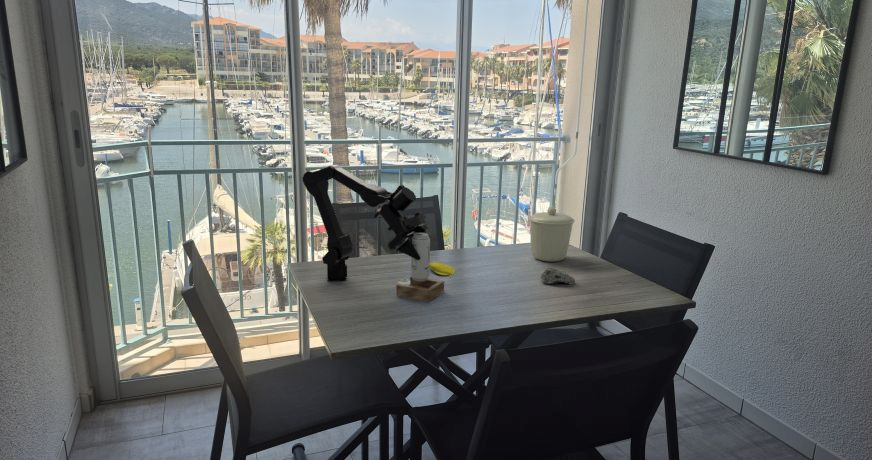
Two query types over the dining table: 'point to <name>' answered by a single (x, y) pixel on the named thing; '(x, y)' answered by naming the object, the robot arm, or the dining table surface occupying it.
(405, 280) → the mounting bracket
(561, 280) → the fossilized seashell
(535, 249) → the canister
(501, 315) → the dining table surface
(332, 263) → the robot arm
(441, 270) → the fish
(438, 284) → the wooden tray
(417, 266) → the energy drink can
